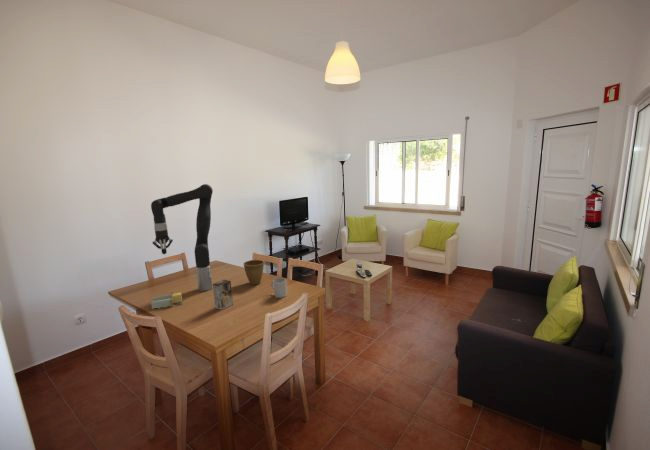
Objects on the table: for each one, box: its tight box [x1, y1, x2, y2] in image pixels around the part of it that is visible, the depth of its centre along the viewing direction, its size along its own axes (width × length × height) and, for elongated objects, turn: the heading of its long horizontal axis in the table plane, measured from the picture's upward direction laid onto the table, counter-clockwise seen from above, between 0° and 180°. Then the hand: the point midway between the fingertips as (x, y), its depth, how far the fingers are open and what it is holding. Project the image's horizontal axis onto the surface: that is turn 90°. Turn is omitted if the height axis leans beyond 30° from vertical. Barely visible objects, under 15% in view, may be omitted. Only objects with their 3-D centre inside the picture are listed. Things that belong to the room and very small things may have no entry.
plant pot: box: [243, 259, 265, 285], centre depth 236 cm, size 15×15×16 cm
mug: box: [271, 277, 288, 299], centre depth 214 cm, size 12×8×11 cm
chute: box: [150, 291, 183, 310], centre depth 204 cm, size 17×13×5 cm
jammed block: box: [172, 291, 183, 303], centre depth 206 cm, size 5×5×5 cm
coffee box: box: [212, 279, 234, 311], centre depth 197 cm, size 9×6×16 cm
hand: (164, 253), depth 216 cm, fingers closed
